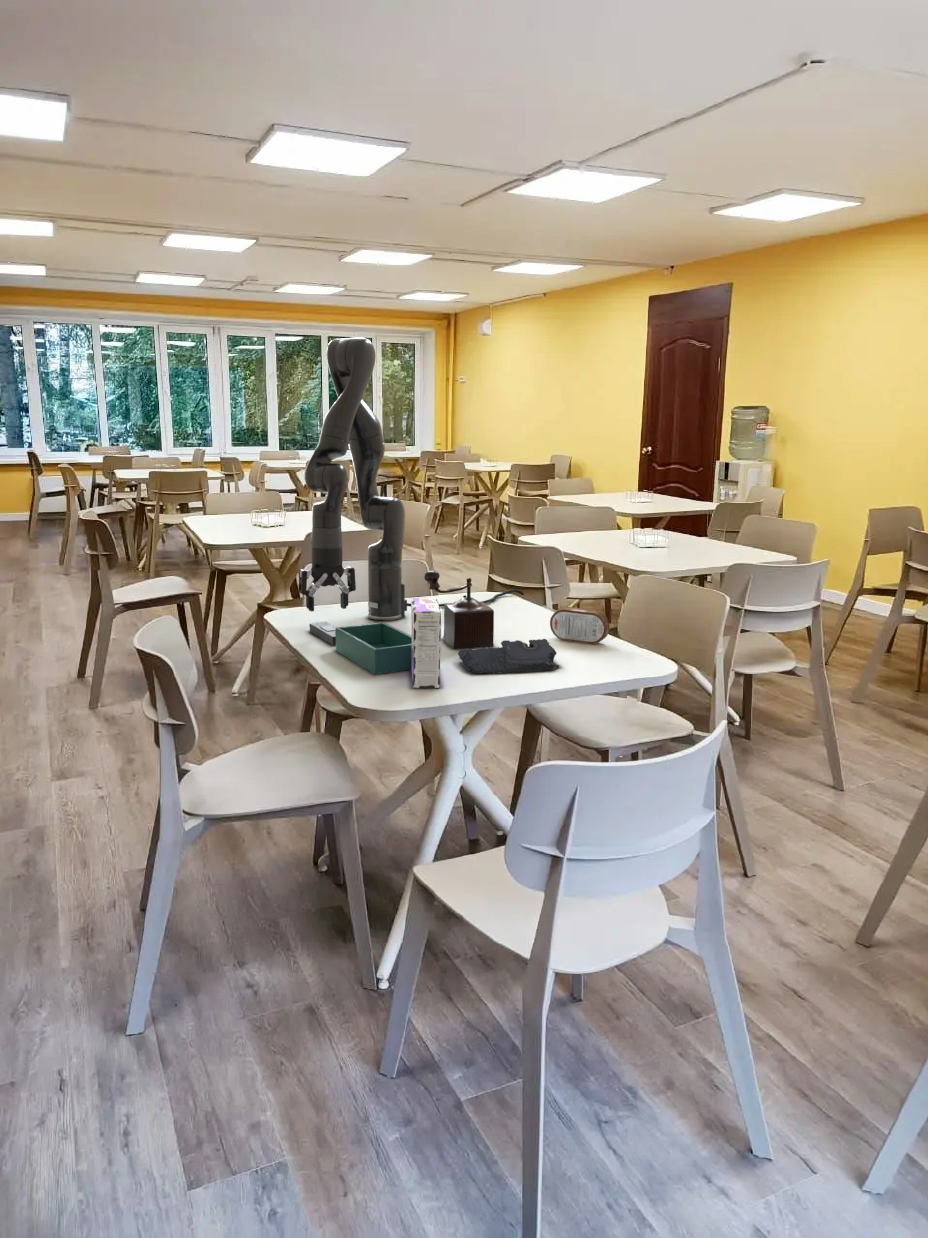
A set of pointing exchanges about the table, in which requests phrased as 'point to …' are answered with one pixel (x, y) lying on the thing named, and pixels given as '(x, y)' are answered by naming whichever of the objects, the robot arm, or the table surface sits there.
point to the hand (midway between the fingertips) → (327, 609)
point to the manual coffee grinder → (464, 618)
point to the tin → (579, 625)
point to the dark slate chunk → (510, 657)
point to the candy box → (425, 642)
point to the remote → (324, 631)
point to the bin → (376, 647)
